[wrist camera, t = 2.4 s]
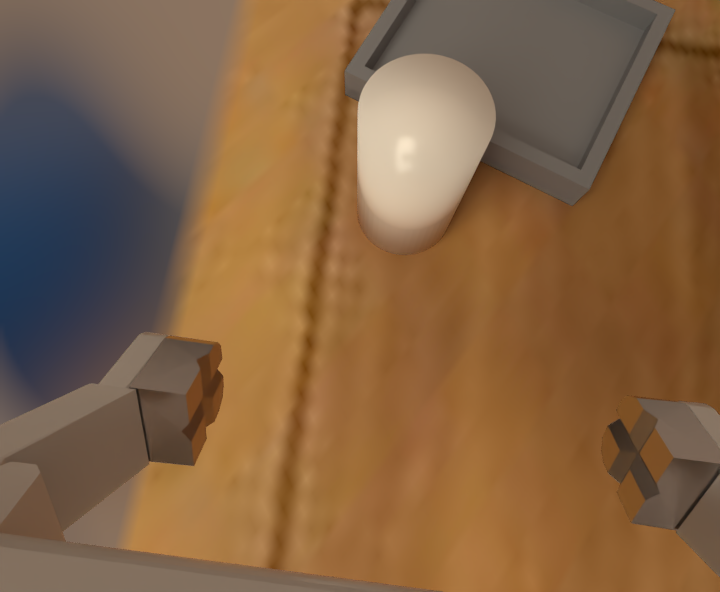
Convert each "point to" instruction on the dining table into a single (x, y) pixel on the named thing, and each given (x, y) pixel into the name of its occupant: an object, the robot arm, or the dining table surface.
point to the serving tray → (532, 74)
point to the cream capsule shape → (418, 148)
